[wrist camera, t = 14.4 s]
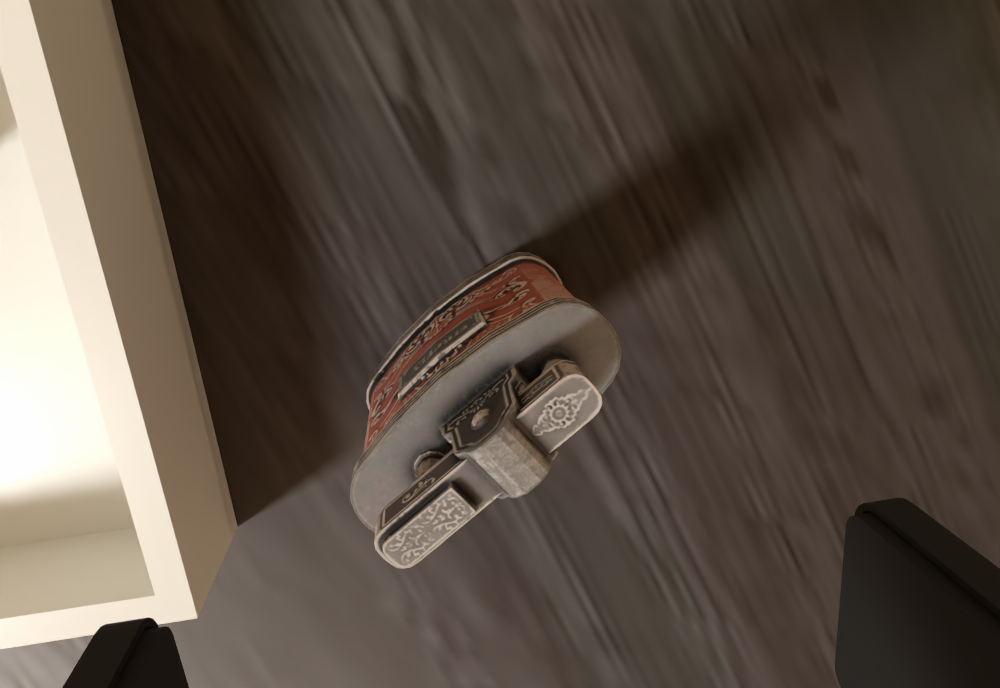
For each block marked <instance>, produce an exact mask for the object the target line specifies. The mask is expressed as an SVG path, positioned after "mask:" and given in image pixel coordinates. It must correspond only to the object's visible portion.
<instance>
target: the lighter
mask: <svg viewBox="0 0 1000 688" xmlns="http://www.w3.org/2000/svg"><path fill="white" fill-rule="evenodd" d="M620 357H621V350H620V345H619V340H618V336H617V335H616V333H615V331H614V330H613V328H612V326H611V325H610V323H609V322H608V321H607V320H606V319H605V318H604V317H603V316H602V315H601V314H600V313H599V312H598V311H596V310H595V309H594V308H593V307H592V306H591V305H590V304H588V303H586V302H583V301H581V300H578V299H576V298H575V297H574V296H573V295H572V294H571V293H570V292H569V291H568V290H567V289H566V288H565V287H564V286H563V284H562V281H561V279H560V278H559V276H558V274H557V273H556V271H555V270H554V269H553V268H552V267H551V266H550V265H549V264H548V263H546V262H545V261H544V260H543V259H542V258H541V257H538V256H536V255H533V254H531V253H525V252H516V253H513V254H510V255H507V256H505V257H503V258H502V259H500V260H498V261H496V262H495V263H493V264H491V265H490V266H488V267H486V268H485V269H483V270H481V271H479V272H478V273H476V274H474V275H473V276H471V277H469V278H468V279H466V280H465V281H464V282H462V283H461V284H460V285H458V286H457V287H456V288H454V289H453V290H452V291H451V292H449V293H448V294H447V295H445V296H444V297H443V298H441V299H440V300H439V301H437V302H436V303H435V304H433V305H432V306H431V307H430V308H429V309H428V310H427V311H426V312H425V313H424V314H423V315H422V316H421V317H420V318H419V319H418V320H417V321H416V322H415V323H414V324H413V325H412V326H411V327H410V328H409V329H408V330H407V331H406V332H405V333H404V334H403V335H402V336H401V337H400V338H399V339H398V340H397V342H396V343H395V344H394V346H393V347H392V348H391V350H390V351H389V352H388V353H387V355H386V356H385V357H384V359H383V360H382V361H381V362H380V364H379V365H378V366H377V368H376V369H375V370H374V371H373V373H372V375H371V377H370V379H369V381H368V387H367V400H366V402H367V405H368V408H369V411H370V412H369V418H368V425H367V432H366V439H365V446H364V452H363V454H362V455H361V457H360V458H359V460H358V462H357V464H356V466H355V468H354V470H353V475H352V481H351V498H350V500H351V502H352V505H353V508H354V511H355V513H356V515H357V516H358V517H359V519H360V520H361V521H362V522H363V524H364V525H365V526H366V527H367V528H369V529H370V530H372V531H373V532H375V541H374V544H375V548H376V551H377V552H378V553H379V554H380V555H381V557H383V558H384V559H385V560H386V561H387V562H388V563H390V564H391V565H393V566H395V567H397V568H402V569H404V568H409V567H412V566H413V565H415V564H417V563H418V562H420V561H421V560H422V559H423V558H424V557H426V556H427V555H428V554H429V553H430V552H432V551H433V550H434V549H435V548H436V547H438V546H439V545H440V544H441V543H443V542H444V541H445V540H446V539H447V538H449V537H450V536H451V535H452V534H453V533H455V532H456V531H457V530H458V529H459V528H461V527H462V526H463V525H464V524H465V523H467V522H468V521H469V520H470V519H472V518H473V517H474V516H475V515H476V514H478V513H479V512H480V511H481V510H482V509H484V508H485V507H486V506H487V505H488V504H490V503H491V502H492V501H493V500H494V499H496V498H497V497H498V498H500V499H504V498H508V497H511V498H519V497H521V496H523V495H525V494H527V493H528V492H529V491H531V490H532V489H533V488H534V487H535V486H537V485H538V484H539V483H540V482H541V481H542V480H543V479H544V478H545V476H546V475H547V474H548V473H549V471H550V469H551V466H552V463H553V460H554V458H555V457H556V455H557V454H558V452H559V446H560V445H561V444H562V443H563V442H564V441H566V440H567V439H568V438H569V437H570V436H572V435H573V434H574V433H575V432H577V431H578V430H579V429H580V428H581V427H583V426H584V425H585V424H586V423H587V422H589V421H590V420H591V419H592V418H593V417H594V416H595V415H596V414H597V413H598V412H599V410H600V408H601V405H602V399H601V394H602V393H603V392H604V391H605V390H606V388H607V387H608V386H609V385H610V384H611V382H612V381H613V379H614V377H615V375H616V373H617V372H618V370H619V364H620Z"/></svg>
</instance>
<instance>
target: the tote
mask: <svg viewBox="0 0 1000 688" xmlns="http://www.w3.org/2000/svg"><path fill="white" fill-rule="evenodd" d="M237 527H238V526H237V522H236V518H235V514H234V509H233V505H232V501H231V497H230V493H229V489H228V485H227V480H226V476H225V472H224V468H223V464H222V460H221V455H220V451H219V447H218V443H217V439H216V435H215V430H214V426H213V422H212V418H211V414H210V410H209V406H208V401H207V397H206V393H205V389H204V385H203V381H202V376H201V372H200V368H199V364H198V360H197V356H196V351H195V347H194V343H193V339H192V335H191V331H190V327H189V322H188V318H187V314H186V310H185V306H184V302H183V297H182V293H181V289H180V285H179V281H178V277H177V272H176V268H175V264H174V260H173V256H172V252H171V247H170V243H169V239H168V235H167V231H166V227H165V223H164V218H163V214H162V210H161V206H160V202H159V198H158V193H157V189H156V185H155V181H154V177H153V173H152V168H151V164H150V160H149V156H148V152H147V148H146V144H145V139H144V135H143V131H142V127H141V123H140V119H139V114H138V110H137V106H136V102H135V98H134V94H133V89H132V85H131V81H130V77H129V73H128V69H127V65H126V60H125V56H124V52H123V48H122V44H121V40H120V35H119V31H118V27H117V23H116V19H115V15H114V10H113V6H112V2H111V0H0V649H5V648H11V647H17V646H24V645H30V644H36V643H43V642H49V641H56V640H62V639H68V638H75V637H81V636H87V635H94V634H95V633H96V632H97V630H98V629H99V628H100V627H101V626H103V625H105V624H110V623H117V622H123V621H129V620H136V619H142V618H148V617H149V618H153V619H154V620H155V622H156V623H157V625H158V624H164V623H170V622H177V621H183V620H190V619H196V618H198V617H199V614H200V612H201V610H202V607H203V605H204V603H205V601H206V598H207V596H208V594H209V591H210V589H211V587H212V585H213V582H214V580H215V578H216V575H217V573H218V571H219V569H220V566H221V564H222V562H223V559H224V557H225V555H226V553H227V550H228V548H229V546H230V543H231V541H232V539H233V537H234V534H235V532H236V530H237Z"/></svg>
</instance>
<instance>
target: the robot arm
mask: <svg viewBox="0 0 1000 688" xmlns="http://www.w3.org/2000/svg"><path fill="white" fill-rule="evenodd" d="M835 671H836V675H837V679H838V681H839V684H840V686H841V688H1000V569H999V568H998V567H997V566H995V565H994V564H993V563H991V562H990V561H989V560H987V559H986V558H985V557H983V556H982V555H981V554H979V553H978V552H977V551H975V550H974V549H973V548H971V547H970V546H969V545H967V544H966V543H965V542H963V541H962V540H961V539H959V538H958V537H957V536H955V535H954V534H953V533H951V532H950V531H949V530H947V529H946V528H945V527H943V526H942V525H941V524H939V523H938V522H937V521H935V520H934V519H933V518H931V517H930V516H929V515H927V514H926V513H925V512H923V511H922V510H921V509H919V508H918V507H917V506H915V505H914V504H913V503H911V502H910V501H908V500H906V499H904V498H894V499H888V500H881V501H875V502H869V503H863V504H861V505H859V506H858V508H857V509H856V512H855V515H854V516H851V517H849V519H848V520H847V524H846V533H845V545H844V558H843V570H842V582H841V595H840V607H839V620H838V632H837V645H836V657H835ZM63 688H189V686H188V683H187V680H186V676H185V673H184V670H183V666H182V663H181V660H180V656H179V653H178V650H177V646H176V643H175V640H174V636H173V634H172V631H171V630H170V629H169V627H158V625H157V623H156V622H155V620H154V619H153V618H149V617H148V618H142V619H136V620H129V621H123V622H117V623H110V624H105V625H103V626H101V627H100V628H99V629H98V630H97V632H96V633H95V635H94V636H93V638H92V640H91V641H90V643H89V645H88V646H87V648H86V649H85V651H84V653H83V654H82V656H81V658H80V659H79V661H78V663H77V664H76V666H75V668H74V669H73V671H72V673H71V674H70V676H69V678H68V679H67V681H66V683H65V684H64V686H63Z"/></svg>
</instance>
